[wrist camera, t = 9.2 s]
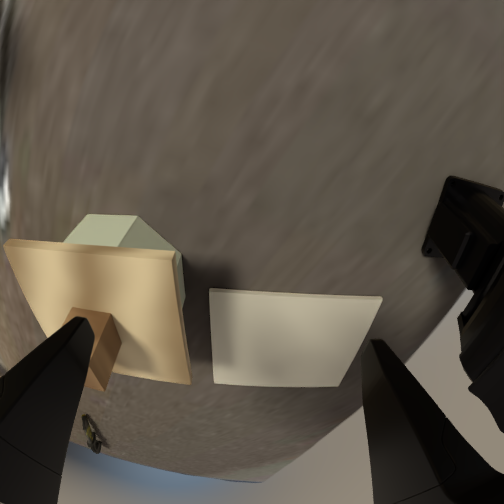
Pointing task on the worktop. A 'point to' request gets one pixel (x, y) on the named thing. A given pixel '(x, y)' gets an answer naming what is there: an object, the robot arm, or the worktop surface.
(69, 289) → the lid
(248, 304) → the mat
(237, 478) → the worktop surface
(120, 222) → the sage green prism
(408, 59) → the worktop surface
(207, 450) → the worktop surface
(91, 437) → the knife
